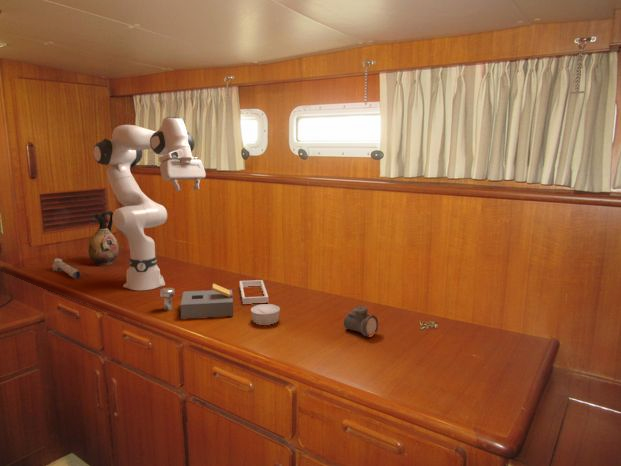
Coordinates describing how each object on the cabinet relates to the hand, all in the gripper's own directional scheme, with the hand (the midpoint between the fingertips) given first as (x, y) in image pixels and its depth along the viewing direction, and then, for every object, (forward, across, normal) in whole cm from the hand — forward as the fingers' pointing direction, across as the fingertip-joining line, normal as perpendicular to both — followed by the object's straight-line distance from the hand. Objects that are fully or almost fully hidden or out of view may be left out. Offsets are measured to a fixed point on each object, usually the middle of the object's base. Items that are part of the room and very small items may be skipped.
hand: (188, 190), depth 177 cm
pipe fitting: (+67, -18, +53) cm, 87 cm away
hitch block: (+49, -2, -5) cm, 50 cm away
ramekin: (+57, -6, +20) cm, 61 cm away
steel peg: (+46, +7, -19) cm, 50 cm away
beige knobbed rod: (+22, +3, -98) cm, 100 cm away
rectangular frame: (+49, -28, -3) cm, 57 cm away
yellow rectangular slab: (+43, -5, +1) cm, 43 cm away
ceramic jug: (+20, -21, -100) cm, 104 cm away
